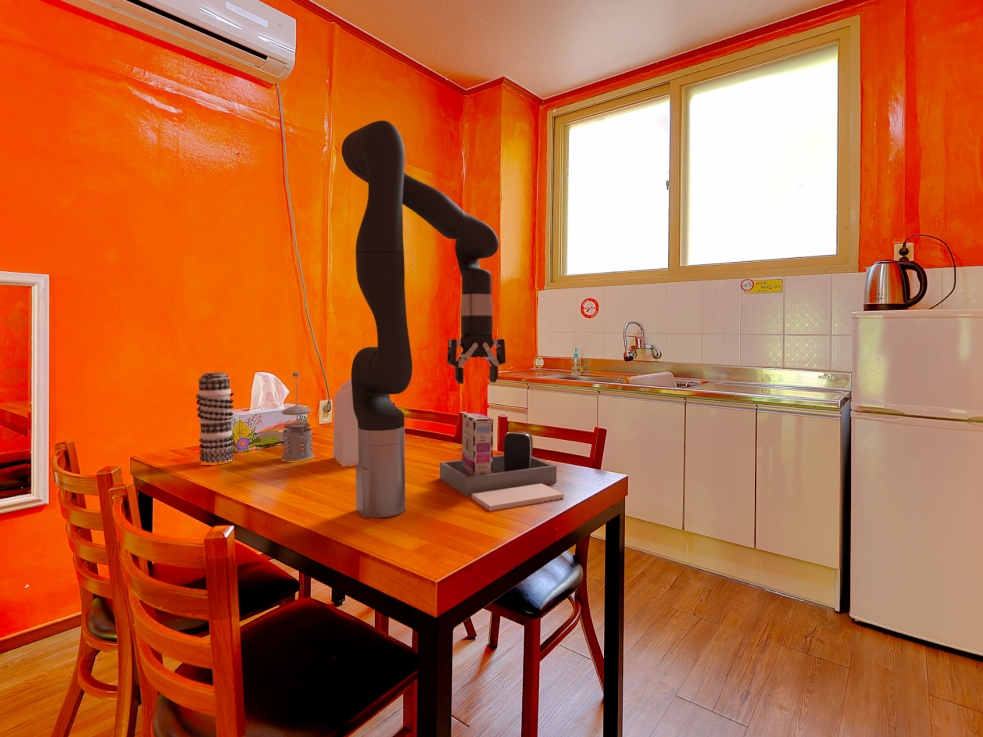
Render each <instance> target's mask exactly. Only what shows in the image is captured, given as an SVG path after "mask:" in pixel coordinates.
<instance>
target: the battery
mask: <svg viewBox="0 0 983 737" xmlns="http://www.w3.org/2000/svg"><path fill="white" fill-rule="evenodd" d="M533 446H534V443H533V437H532V435H531V433H530V432H529V433H528V432H523V431H521V432H520V431H511V432H507V433H506V434H505V435H504V437H503V455H504V471H503V472H507V471H515V470H522V469H530V468H531V456H532V454H533V450H534V447H533Z"/></svg>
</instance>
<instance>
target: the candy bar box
mask: <svg viewBox="0 0 983 737" xmlns="http://www.w3.org/2000/svg"><path fill="white" fill-rule="evenodd" d="M461 416H462V426H461V427H462V429H461V430H462V432H461V433H462V434H461V436H462V441H461V443H462V446H461V447H462V448H461V453H462V456H461V460H462V473H463V474H464V475H466V476H468V477H470V476H478V475H485V474H492V473H493V472H492V468H493V465H492V464H493V456H494V454H493V451H494V444H493V443H494V418H491V417H490V416H486V415H485V414H482V413H481V412H471V413H462V414H461Z"/></svg>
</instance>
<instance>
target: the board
mask: <svg viewBox="0 0 983 737" xmlns="http://www.w3.org/2000/svg"><path fill="white" fill-rule="evenodd" d="M560 498H563V499H564V498H565V495H564V493H562V492H561V491H559V490H556V489H554V488H552V487H550V486H548V485H547V484H542V483H541V484H534V485H527V486H521V487H514V488H508V489H501V490H494V491H488V492H481V493H475V494H472V495H471V499H472V500H473V501H475V503H476V502H477V503H478V504H479V505H480V506H482V507H483V508H485V509H486V510H488V511H489V512H491V511H497V510H504V509H509V508H516V507H521V506H527V505H533V504H538V503H539V502H540V503H544V501H546V502H551V501H550V500H552V501H556V499H557V500H561V499H560ZM540 503H539V504H540Z"/></svg>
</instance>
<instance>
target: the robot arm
mask: <svg viewBox="0 0 983 737" xmlns="http://www.w3.org/2000/svg"><path fill="white" fill-rule="evenodd" d="M402 138H403V137H402V135H401V133H400V132H399V130H398V129H397V127H396V126H395V125H394V124H392V122H390V121H387V120H376V121H372V122H369V123H368V124H366V125H364V126H361V127H360V128H358V129H356V130H354V131H352V132H350V133H349V134H348V135H347V136H346V137H345V138H344V139H343V142H342V145H341V156H342V159H343V162H344V164H345V166H346V167H347V169H349V171H350V172H351V173H353V175H355V176H356V177H358V178H359V179H361V181H363V182H365V183H367V185H368V186H367V187H368V188H367V190H368V194H367V202H366V207H365V210H364V214H363V216H362V219H361V223H360V226H359V230H358V233H357V237H356V241H355V265H356V266H355V270H356V280H357V284H358V287H359V289H360V291H361V293H362V295H363V297H364V300H365V301H366V303H367V305H368V307H369V309H370V310H371V313H372V315H373V318H374V322H375V327H376V334H377V336H376V337H377V338H376V339H377V346H367V347H364V348H362V349H360V350H358V352H356V354H355V356H354V358H353V360H352V364H351V372H350V374H351V375H350V378H351V383H352V398H353V409H354V413H355V416H356V418H357V421H358V463H357V464H356V466H355V481H356V482H355V485H356V486H355V487H356V488H355V489H356V495H355V496H356V497H355V498H356V499H355V500H356V510H357V511H358V513H359V514H360V516H361V517H362V518H364V519H365V518H377V519H379V518H390V517H393V516H397V515H400V514H402V513H403V512H405V510H406V449H405V448H406V446H405V444H406V443H405V442H406V440H405V437H406V436H405V435H406V434H405V430H406V429H405V428H406V427H405V426H406V425H405V414H404V412H403V410H401V409H400V408H398V407H397V405H395V404H394V402H393V401H392V400H391V396H390V395H399V394H402V393H403V392H405V391H406V390H407V389H408V386H409V385H410V383H411V381H412V375H413V357H412V349H411V343H410V335H409V328H408V319H407V318H408V317H407V306H406V305H407V304H406V301H407V300H406V286H405V285H406V284H405V282H406V281H405V277H406V276H405V275H406V274H405V271H406V270H405V249H404V227H403V226H404V222H403V220H404V218H403V216H404V215H403V214H404V213H403V212H404V211H403V210H404V209H403V206H405V207H406V208H408V209H410V210H411V211H412V212H414V213H415V214H416V215H418V216H419V217H420V218H422V219H423V220H424V221H425V222H427V223H428V224H429V225H430V226H431V227H432V228H433V229H435V230H436V231H437V232H438V233H439V234H441V235H442V236H443V237H445V238H447V239H450V240H455V244H454V252H455V253H454V254H455V256H456V260H457V265H458V268H459V273H460V276H461V300H460V339H459V340H458V339H455V338H450V339H448V341H447V355H446V358H447V359H446V364H447V365H450V366H452V367H454V379H455V382H457V384H459V385H460V384H461V385H463V384H464V378H465V377H464V375H465V374H464V365H465V364H466V362H467V361H468V360H469V359H471V358H484V359H485V360H487V362H488V363H489V365H490V366H489V382H490V383H496V382H497V380H498V379H499V366H501V365H504V364H506V362H507V361H506V358H507V357H506V344H505V343H506V342H505V339H504V338H497V339H493V333H494V332H493V331H494V330H493V327H494V326H493V324H494V322H493V320H494V318H493V314H494V313H493V312H494V311H493V310H494V308H493V297H492V296H493V295H492V283H493V282H492V274H491V272H490V271H489V270H487V269H484V268H482V267H481V266H480V262H479V260H481V259H487V258H491V257H493V256H495V254H496V253H497V252H498V250H499V247H500V242H499V237H498V235H497V233H496V232H495V230H494V229H493V228H492V227H491V226H490V225H489V224H487V223H485V222H484V221H482V220H480V219H478V218H477V217H476V216H474V215H471V214H469V213H466V211H464V210H463V209H462V208H461V207H460V206H459V205H458V204H457V203H456V202H454V201H453V200H452V199H451V198H450V197H449V196H448V195H446V194H445V193H443V192H442V191H440V190H439V189H437V188H435V187H433V186H431V185H429V184H426V183H424V182H422V181H420V180H419V179H416V178H415V177H414V178H413V176H410V175H409V174H407V173H405V166H406V151H405V145H404V140H403V139H402ZM459 346H460V347H461V349H462V350H461V352H460V353H459V355H458V358H457V349H459ZM493 346H494V348H495V354H496V355H495V354H494V352H493V351H492V348H493Z"/></svg>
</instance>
